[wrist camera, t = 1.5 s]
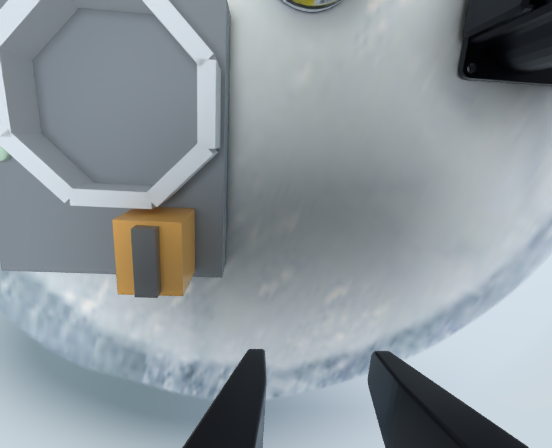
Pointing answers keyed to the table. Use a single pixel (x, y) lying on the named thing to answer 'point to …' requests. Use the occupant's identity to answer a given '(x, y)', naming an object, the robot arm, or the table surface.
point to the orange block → (154, 251)
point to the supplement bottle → (311, 4)
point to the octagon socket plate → (110, 126)
